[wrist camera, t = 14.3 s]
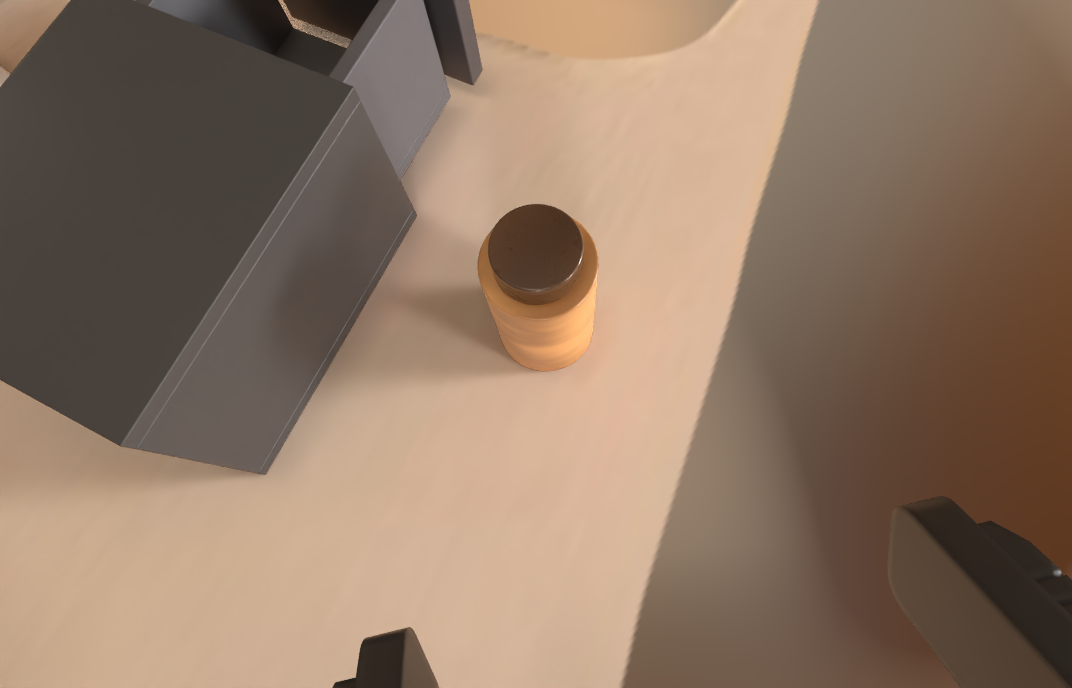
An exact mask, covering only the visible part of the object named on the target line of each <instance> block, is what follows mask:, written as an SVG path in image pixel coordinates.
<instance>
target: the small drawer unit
mask: <svg viewBox="0 0 1072 688" xmlns="http://www.w3.org/2000/svg"><path fill="white" fill-rule="evenodd" d="M416 216H417V214H416V212H415V210H414V209H413V206H412V204H411V202H410V200H409V198H408V196H407V194H406V192H405V190H404V188H403V186H402V184H401V182H400V180H399V178H398V176H397V174H396V172H395V170H394V168H393V166H392V164H391V162H390V160H389V158H388V156H387V154H386V151H385V149H384V147H383V145H382V143H381V141H380V139H379V137H378V135H377V133H376V131H375V129H374V127H373V125H372V123H371V121H370V119H369V117H368V115H367V113H366V111H365V109H364V107H363V105H362V103H361V101H360V98H359V96H358V94H357V92H356V90H355V88H354V87H353V86H351V85H348V84H346V83H343V82H340V81H338V80H335V79H333V78H330V77H328V76H325V75H323V74H320V73H318V72H315V71H312V70H310V69H307V68H305V67H302V66H300V65H297V64H295V63H292V62H290V61H287V60H285V59H282V58H279V57H277V56H274V55H272V54H269V53H267V52H264V51H262V50H259V49H257V48H254V47H251V46H249V45H246V44H244V43H241V42H239V41H236V40H234V39H231V38H229V37H226V36H224V35H221V34H218V33H216V32H213V31H211V30H208V29H206V28H203V27H201V26H198V25H196V24H193V23H190V22H188V21H185V20H183V19H180V18H178V17H175V16H173V15H170V14H168V13H165V12H163V11H160V10H157V9H155V8H152V7H150V6H147V5H145V4H142V3H140V2H137V1H135V0H71V1H70V2H69V3H68V4H67V6H66V7H65V8H64V9H63V10H62V12H61V13H60V14H59V15H58V17H57V18H56V19H55V20H54V21H53V23H52V24H51V25H50V26H49V28H48V29H47V30H46V31H45V33H44V34H43V35H42V36H41V37H40V39H39V40H38V41H37V42H36V44H35V45H34V46H33V47H32V48H31V50H30V51H29V52H28V53H27V55H26V56H25V57H24V58H23V60H22V61H21V62H20V63H19V64H18V66H17V67H16V68H15V69H14V71H13V72H12V73H11V74H10V75H9V77H8V78H7V79H6V80H5V82H4V83H3V84H2V85H1V87H0V380H1V381H3V382H5V383H7V384H8V385H10V386H12V387H14V388H16V389H17V390H19V391H21V392H23V393H25V394H27V395H28V396H30V397H32V398H34V399H36V400H37V401H39V402H41V403H43V404H45V405H47V406H48V407H50V408H52V409H54V410H56V411H57V412H59V413H61V414H63V415H65V416H66V417H68V418H70V419H72V420H74V421H76V422H77V423H79V424H81V425H83V426H85V427H86V428H88V429H90V430H92V431H94V432H96V433H97V434H99V435H101V436H103V437H105V438H106V439H108V440H110V441H112V442H114V443H116V444H117V445H119V446H122V447H127V448H132V449H138V450H143V451H148V452H153V453H158V454H163V455H168V456H173V457H178V458H183V459H188V460H193V461H198V462H203V463H208V464H213V465H218V466H223V467H228V468H233V469H238V470H243V471H248V472H253V473H258V474H263V475H265V474H266V473H267V471H268V470H269V468H270V466H271V465H272V463H273V461H274V459H275V458H276V456H277V454H278V453H279V451H280V449H281V447H282V446H283V444H284V442H285V441H286V439H287V437H288V435H289V434H290V432H291V430H292V429H293V427H294V425H295V424H296V422H297V420H298V418H299V417H300V415H301V413H302V412H303V410H304V408H305V406H306V405H307V403H308V401H309V400H310V398H311V396H312V394H313V393H314V391H315V389H316V388H317V386H318V384H319V382H320V381H321V379H322V377H323V376H324V374H325V372H326V370H327V369H328V367H329V365H330V364H331V362H332V360H333V358H334V357H335V355H336V353H337V352H338V350H339V348H340V346H341V345H342V343H343V341H344V340H345V338H346V336H347V334H348V333H349V331H350V329H351V328H352V326H353V324H354V322H355V321H356V319H357V317H358V316H359V314H360V312H361V311H362V309H363V307H364V305H365V304H366V302H367V300H368V299H369V297H370V295H371V293H372V292H373V290H374V288H375V287H376V285H377V283H378V281H379V280H380V278H381V276H382V275H383V273H384V271H385V269H386V268H387V266H388V264H389V263H390V261H391V259H392V257H393V256H394V254H395V252H396V251H397V249H398V247H399V245H400V244H401V242H402V240H403V239H404V237H405V235H406V233H407V232H408V230H409V228H410V227H411V225H412V223H413V221H414V220H415V218H416Z"/></svg>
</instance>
